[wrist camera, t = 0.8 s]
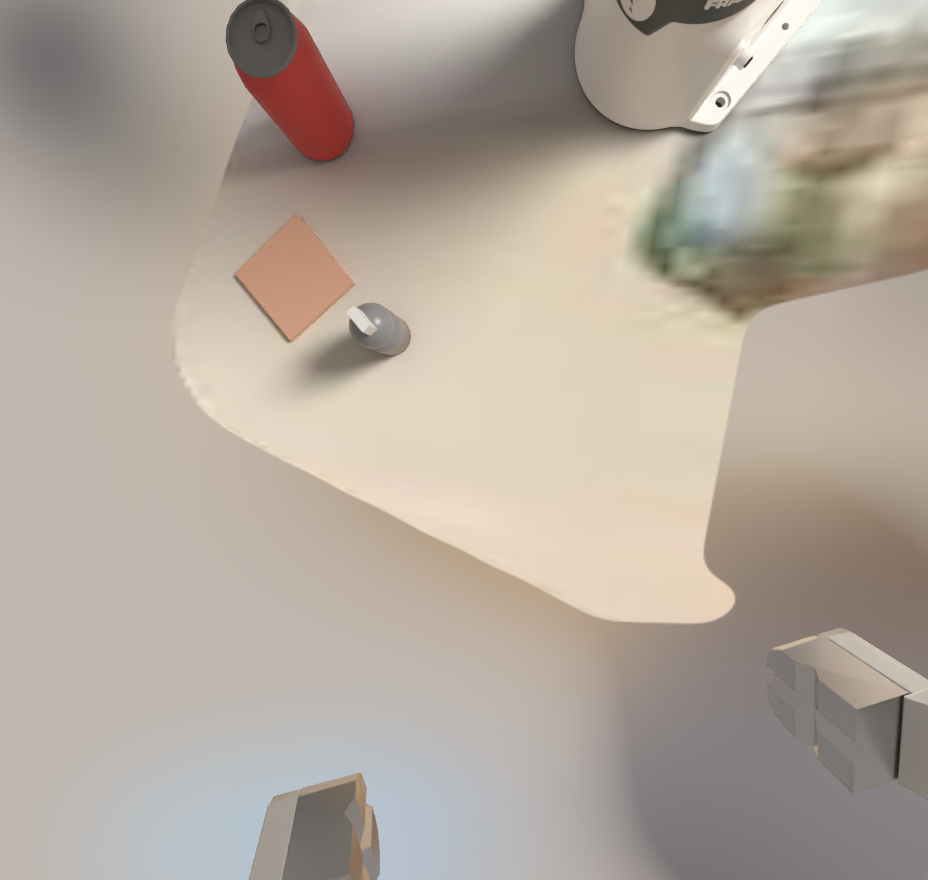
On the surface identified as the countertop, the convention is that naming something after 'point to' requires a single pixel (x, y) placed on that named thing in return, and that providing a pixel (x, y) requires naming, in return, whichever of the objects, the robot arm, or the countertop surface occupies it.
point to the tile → (294, 278)
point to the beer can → (289, 78)
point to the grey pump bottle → (378, 329)
